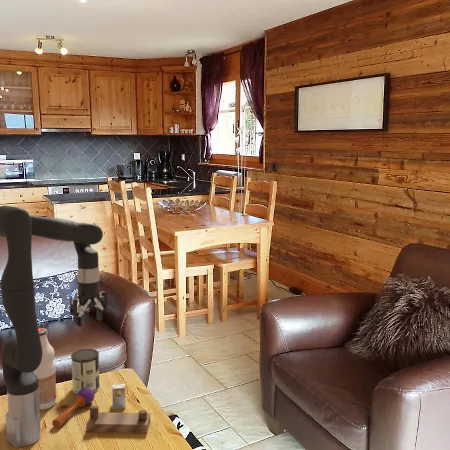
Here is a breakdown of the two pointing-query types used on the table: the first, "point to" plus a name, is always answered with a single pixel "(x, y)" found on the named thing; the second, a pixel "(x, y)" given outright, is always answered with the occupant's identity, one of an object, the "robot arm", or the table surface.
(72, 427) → the table surface
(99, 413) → the plane body
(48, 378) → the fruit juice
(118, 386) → the lever cap
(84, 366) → the coffee can
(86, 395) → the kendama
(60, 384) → the table surface
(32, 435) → the robot arm
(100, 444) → the table surface
